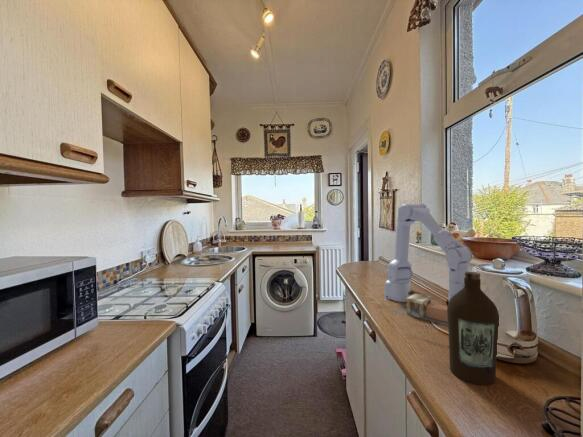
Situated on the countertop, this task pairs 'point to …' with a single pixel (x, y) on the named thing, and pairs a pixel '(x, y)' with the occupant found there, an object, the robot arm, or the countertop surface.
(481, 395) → the countertop surface
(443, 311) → the terracotta block
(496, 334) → the olive oil
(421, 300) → the wooden tunnel
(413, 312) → the board
